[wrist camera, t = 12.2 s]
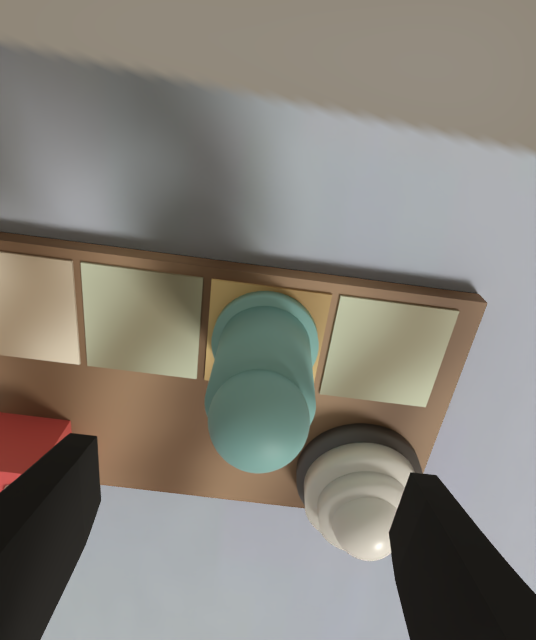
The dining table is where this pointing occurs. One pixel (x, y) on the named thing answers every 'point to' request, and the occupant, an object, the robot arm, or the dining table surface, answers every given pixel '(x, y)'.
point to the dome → (356, 497)
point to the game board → (197, 359)
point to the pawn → (262, 381)
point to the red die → (26, 442)
